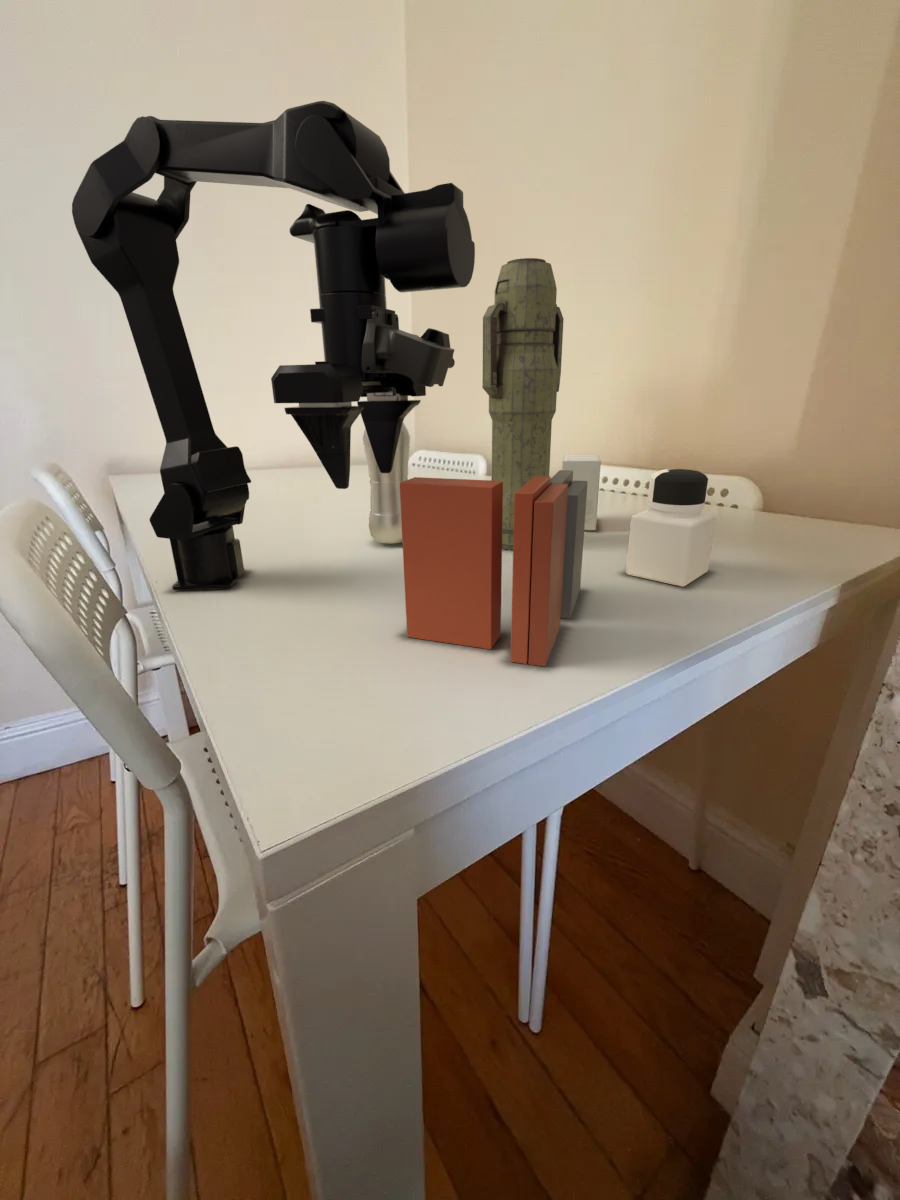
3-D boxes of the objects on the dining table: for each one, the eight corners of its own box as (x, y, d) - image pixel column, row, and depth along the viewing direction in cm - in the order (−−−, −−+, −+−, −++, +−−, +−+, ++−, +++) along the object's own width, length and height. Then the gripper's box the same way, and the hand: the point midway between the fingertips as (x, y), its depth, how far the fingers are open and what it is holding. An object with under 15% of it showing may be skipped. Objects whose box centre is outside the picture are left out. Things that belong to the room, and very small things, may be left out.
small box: (595, 531, 86) (601, 460, 82) (558, 530, 87) (562, 460, 83) (594, 519, 94) (599, 454, 90) (559, 518, 95) (563, 453, 91)
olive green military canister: (466, 543, 81) (465, 262, 69) (523, 529, 88) (532, 272, 76) (511, 556, 75) (518, 249, 62) (568, 540, 82) (586, 261, 69)
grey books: (540, 615, 56) (546, 482, 51) (553, 589, 63) (559, 470, 58) (570, 619, 55) (578, 484, 50) (579, 591, 62) (588, 470, 57)
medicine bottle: (708, 572, 67) (724, 469, 63) (684, 588, 63) (699, 478, 58) (651, 560, 72) (662, 464, 68) (624, 574, 67) (634, 471, 63)
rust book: (406, 637, 52) (398, 482, 47) (419, 624, 54) (413, 476, 49) (491, 649, 49) (492, 486, 44) (500, 636, 52) (503, 480, 47)
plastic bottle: (424, 539, 83) (419, 395, 76) (395, 551, 78) (387, 396, 71) (389, 534, 87) (381, 395, 80) (360, 544, 81) (349, 396, 74)
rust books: (510, 662, 47) (514, 492, 42) (529, 624, 54) (534, 475, 49) (545, 666, 46) (553, 494, 41) (560, 628, 53) (568, 476, 48)
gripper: (394, 272, 38) (405, 503, 44) (473, 303, 55) (473, 468, 60) (254, 283, 42) (281, 497, 47) (368, 310, 58) (378, 465, 64)
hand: (365, 480), depth 54 cm, fingers open, 9 cm apart
